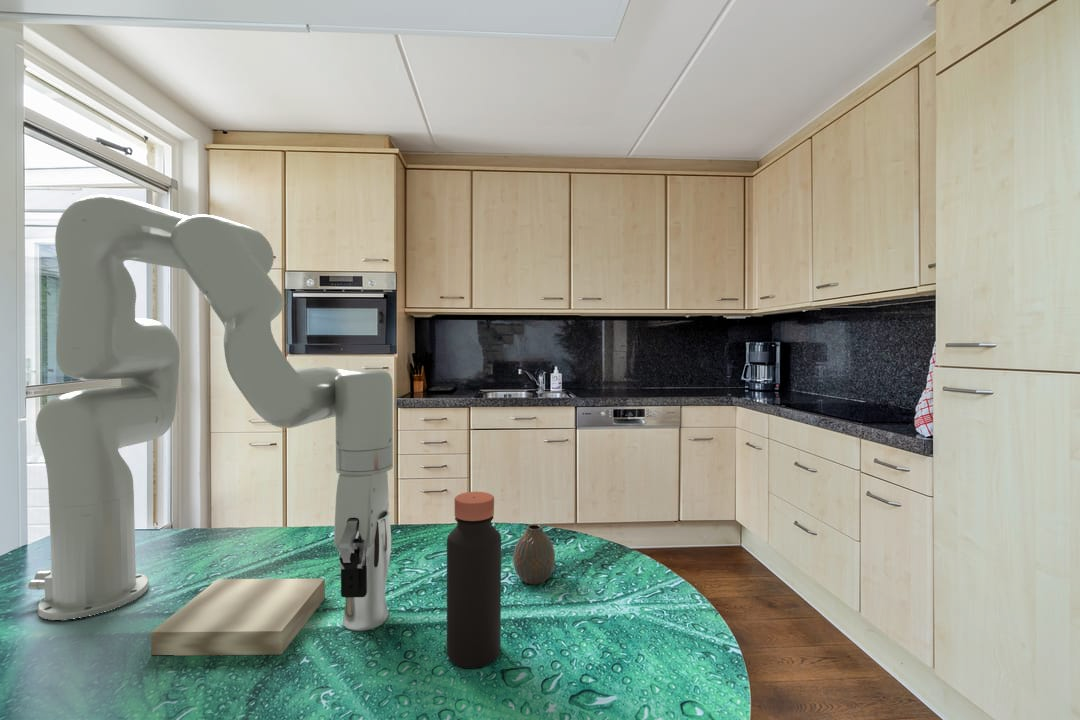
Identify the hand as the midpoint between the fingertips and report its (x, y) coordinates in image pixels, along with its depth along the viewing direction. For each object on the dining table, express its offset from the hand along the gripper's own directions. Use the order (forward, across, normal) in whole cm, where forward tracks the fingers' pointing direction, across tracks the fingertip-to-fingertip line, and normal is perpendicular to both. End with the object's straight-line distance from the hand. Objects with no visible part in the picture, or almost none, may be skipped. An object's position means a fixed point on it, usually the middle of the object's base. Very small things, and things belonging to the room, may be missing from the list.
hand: (365, 578), depth 72 cm
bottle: (+6, +8, +16) cm, 19 cm away
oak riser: (+6, +1, -16) cm, 17 cm away
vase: (+6, -12, +24) cm, 28 cm away
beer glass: (+6, 0, 0) cm, 6 cm away
